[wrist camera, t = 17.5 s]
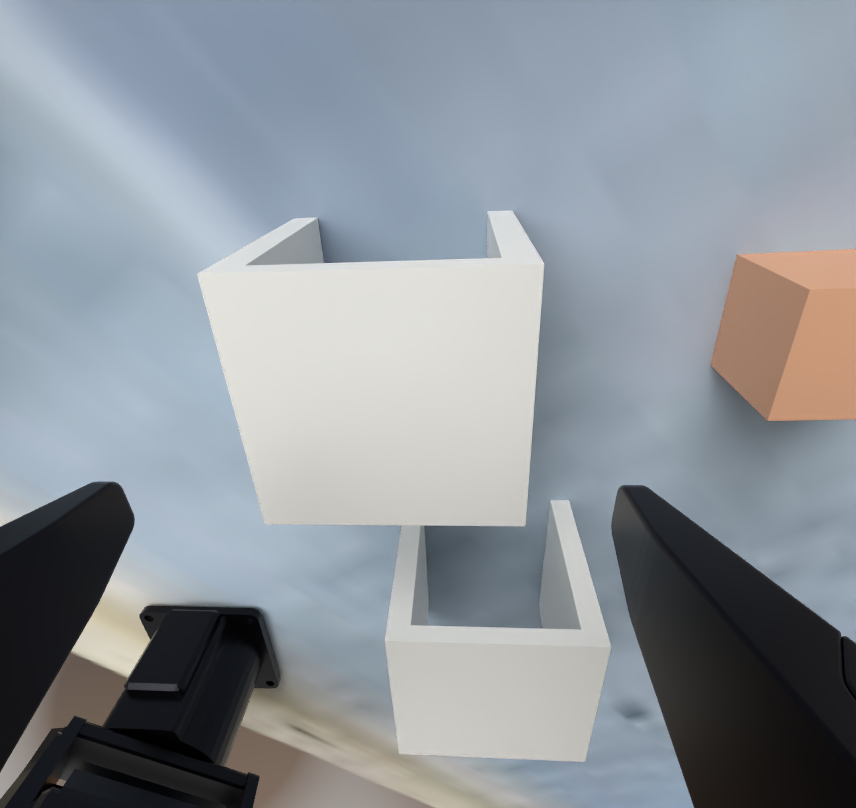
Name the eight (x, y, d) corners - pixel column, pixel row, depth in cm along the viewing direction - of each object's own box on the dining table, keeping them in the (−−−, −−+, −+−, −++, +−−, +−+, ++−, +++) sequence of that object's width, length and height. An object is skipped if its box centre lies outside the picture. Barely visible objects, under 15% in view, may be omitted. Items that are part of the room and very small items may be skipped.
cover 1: (505, 400, 19) (525, 526, 13) (324, 402, 20) (264, 524, 14) (512, 210, 16) (544, 263, 10) (294, 218, 17) (197, 273, 10)
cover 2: (554, 607, 25) (585, 762, 19) (413, 604, 26) (398, 753, 20) (569, 500, 22) (611, 647, 16) (405, 498, 22) (384, 640, 16)
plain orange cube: (823, 362, 18) (910, 420, 15) (709, 366, 18) (766, 423, 15) (865, 248, 16) (977, 283, 13) (735, 253, 16) (810, 289, 13)
